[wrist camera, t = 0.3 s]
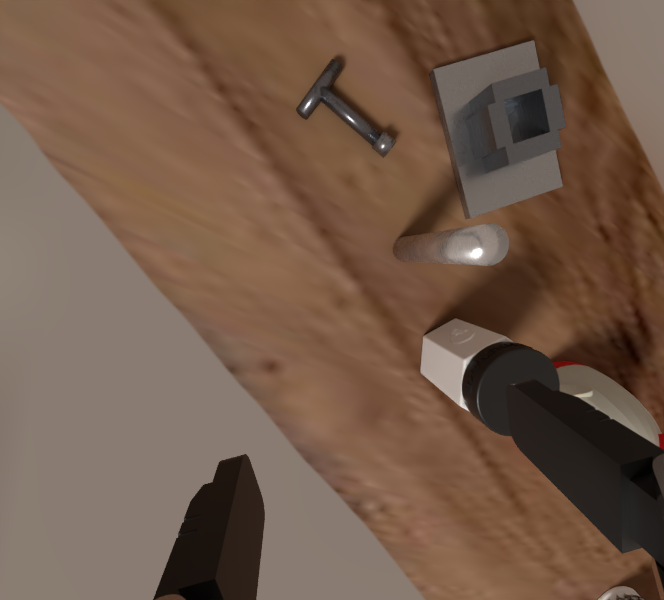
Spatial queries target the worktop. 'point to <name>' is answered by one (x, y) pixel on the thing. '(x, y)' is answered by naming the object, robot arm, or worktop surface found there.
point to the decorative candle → (621, 594)
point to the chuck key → (342, 109)
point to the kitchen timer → (608, 399)
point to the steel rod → (455, 246)
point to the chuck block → (500, 127)
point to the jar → (482, 369)
